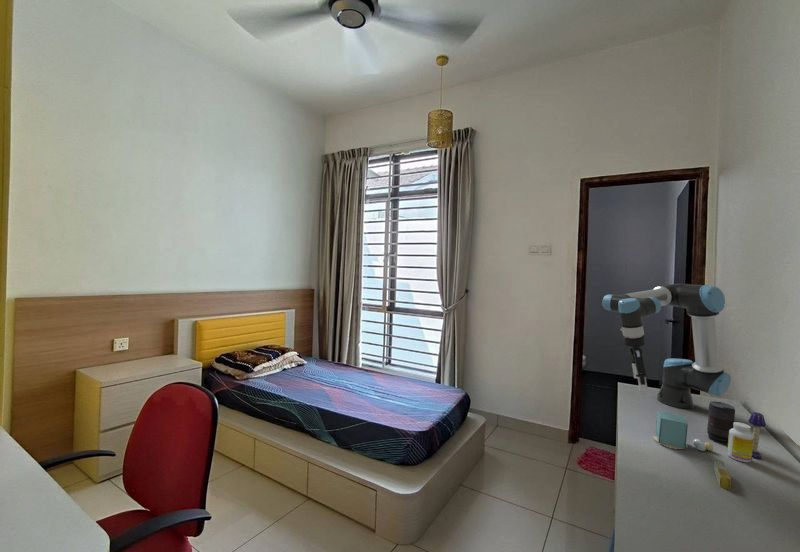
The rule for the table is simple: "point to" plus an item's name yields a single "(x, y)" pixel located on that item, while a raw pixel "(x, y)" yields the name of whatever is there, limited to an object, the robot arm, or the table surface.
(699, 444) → the marble
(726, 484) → the medication box
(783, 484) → the table surface
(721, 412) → the camera lens
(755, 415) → the toy lamp
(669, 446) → the coaster
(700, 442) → the marble
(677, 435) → the teal cube
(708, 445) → the marble
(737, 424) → the supplement bottle
